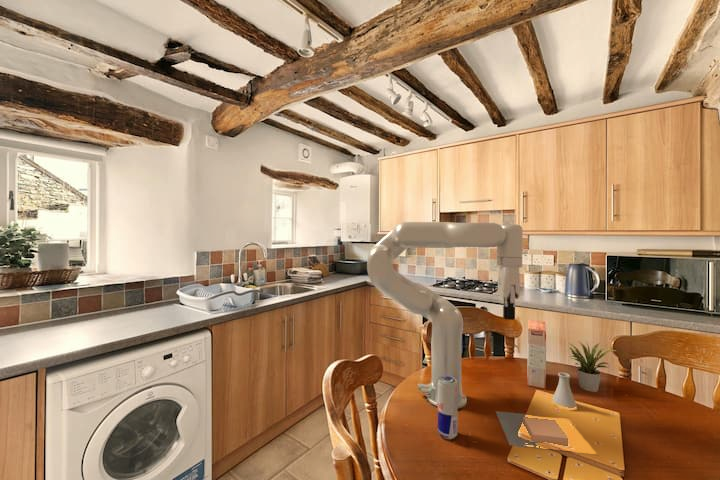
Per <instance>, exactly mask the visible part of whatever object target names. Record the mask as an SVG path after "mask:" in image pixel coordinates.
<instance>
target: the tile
mask: <svg viewBox="0 0 720 480" xmlns="http://www.w3.org/2000/svg"><path fill="white" fill-rule="evenodd" d="M523 424H524V426H525V427H526V429H527V431H528V433H529V435H530V436H531V439H532V441H533V443H543V442H547V443H553V444H558V445H563V446H568V438H567V436H566V435H565V433H564V432H563V431H562V429H561V428H560V427H559V425H558V424H557V423H556V421H555V420H548V419H538V418H528V417H523Z"/></svg>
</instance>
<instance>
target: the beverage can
mask: <svg viewBox="0 0 720 480" xmlns="http://www.w3.org/2000/svg"><path fill="white" fill-rule="evenodd" d="M458 418H459V417H458V409H457V380H456V379H455V378H453V377H450V376H440V377H439V378H438V407H437V432H438V433H439V435H440V436H441V437H442V438H444V439H446V440H453V439H455V438H456V437H457V436H458V428H459V427H458V426H459V425H458V421H459V420H458Z"/></svg>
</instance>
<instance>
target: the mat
mask: <svg viewBox="0 0 720 480" xmlns="http://www.w3.org/2000/svg"><path fill="white" fill-rule="evenodd" d="M495 413H496V414H495V415H496V416H497V418H498V421H499V422H500V426H501V427H502V430H503V433H504V435H505V437H506V440H507V442H508V445H509V446H515V447H522V448H528V447H527V446H524V445H533V446H534V447H531V449H537V448H536V446H537V445H536V444H535V443H533V442H530V441H529V440H525V439H523V438H521V437H519V436H518V431H519V429H520V427H521V424H522V422H523V417H525V415H526V414H527V413H520V412H519V413H517V412H507V411H498V410H495ZM525 443H528V444H525ZM539 448H540V446H539Z"/></svg>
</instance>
